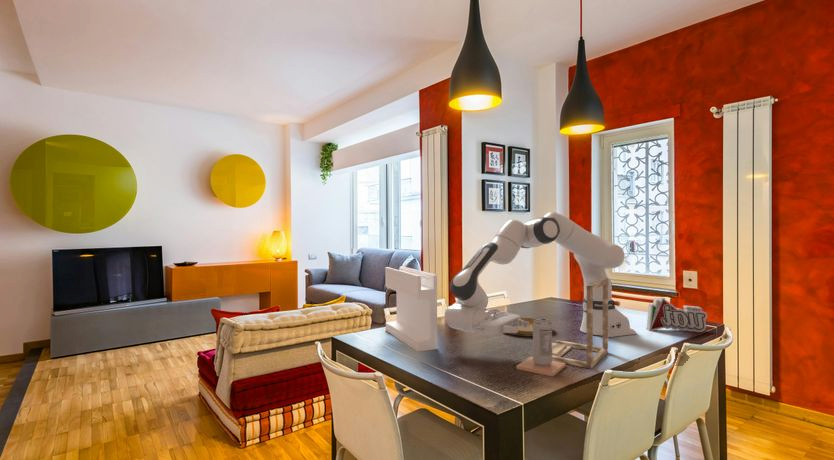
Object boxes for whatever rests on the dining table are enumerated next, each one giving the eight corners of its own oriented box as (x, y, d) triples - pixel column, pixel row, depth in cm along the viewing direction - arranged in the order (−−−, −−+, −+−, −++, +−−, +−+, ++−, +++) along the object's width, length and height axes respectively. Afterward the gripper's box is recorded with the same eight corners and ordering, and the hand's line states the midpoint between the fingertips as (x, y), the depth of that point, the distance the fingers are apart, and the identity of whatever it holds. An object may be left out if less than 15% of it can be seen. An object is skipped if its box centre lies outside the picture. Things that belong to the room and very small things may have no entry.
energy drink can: (545, 360, 147) (546, 316, 146) (555, 366, 141) (555, 320, 141) (529, 362, 145) (529, 317, 145) (538, 368, 139) (538, 321, 139)
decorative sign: (701, 335, 191) (705, 301, 191) (704, 337, 189) (708, 302, 188) (646, 329, 193) (649, 295, 193) (648, 330, 191) (652, 296, 190)
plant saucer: (535, 341, 175) (535, 333, 175) (485, 331, 192) (485, 323, 192) (562, 330, 193) (562, 323, 193) (514, 322, 209) (514, 315, 209)
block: (437, 349, 164) (437, 274, 164) (417, 351, 161) (417, 275, 161) (402, 328, 196) (402, 266, 196) (385, 330, 193) (385, 267, 193)
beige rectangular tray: (570, 348, 164) (570, 344, 164) (557, 358, 152) (557, 354, 152) (551, 345, 168) (551, 341, 168) (536, 355, 156) (537, 350, 156)
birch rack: (607, 352, 160) (608, 278, 159) (591, 368, 142) (591, 285, 141) (556, 343, 171) (557, 274, 170) (535, 358, 153) (535, 281, 153)
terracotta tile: (565, 366, 144) (565, 363, 144) (552, 376, 135) (552, 373, 135) (530, 359, 151) (530, 356, 151) (516, 368, 142) (516, 365, 142)
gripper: (471, 318, 146) (509, 323, 138) (498, 308, 163) (534, 313, 154) (471, 336, 146) (509, 343, 138) (498, 325, 163) (534, 330, 155)
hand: (522, 327), depth 146 cm, fingers open, 8 cm apart
